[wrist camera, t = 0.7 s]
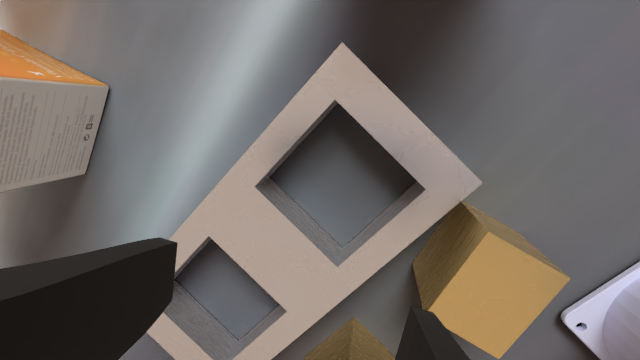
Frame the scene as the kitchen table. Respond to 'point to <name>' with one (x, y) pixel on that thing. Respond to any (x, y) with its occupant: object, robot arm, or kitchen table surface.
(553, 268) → the wooden brick
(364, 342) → the brushed gold block
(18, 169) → the small box
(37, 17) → the kitchen table surface
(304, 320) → the white slotted board
